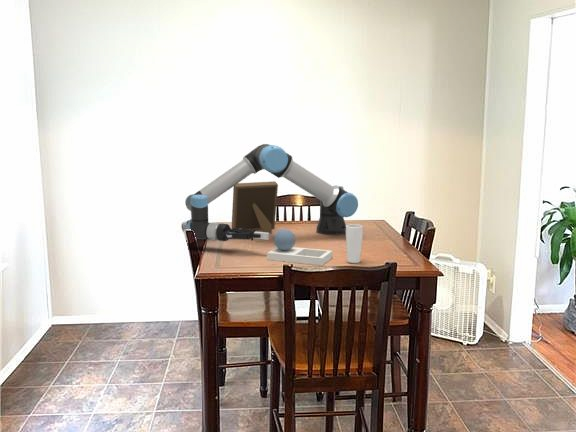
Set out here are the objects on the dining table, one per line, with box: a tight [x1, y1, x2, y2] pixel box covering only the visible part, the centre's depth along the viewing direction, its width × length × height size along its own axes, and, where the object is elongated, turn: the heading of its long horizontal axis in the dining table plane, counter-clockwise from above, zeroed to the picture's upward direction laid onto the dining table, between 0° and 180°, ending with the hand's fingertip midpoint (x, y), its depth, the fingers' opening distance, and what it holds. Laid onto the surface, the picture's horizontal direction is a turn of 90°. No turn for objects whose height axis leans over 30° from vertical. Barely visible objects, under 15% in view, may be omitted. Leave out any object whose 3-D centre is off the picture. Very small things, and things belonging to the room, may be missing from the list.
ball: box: [273, 228, 296, 251], centre depth 244 cm, size 9×9×9 cm
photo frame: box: [231, 181, 279, 235], centre depth 293 cm, size 15×22×25 cm
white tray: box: [266, 246, 334, 266], centre depth 243 cm, size 24×13×3 cm, turn 68°
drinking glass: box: [345, 223, 364, 264], centre depth 236 cm, size 7×7×15 cm
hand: (268, 236), depth 247 cm, fingers closed
